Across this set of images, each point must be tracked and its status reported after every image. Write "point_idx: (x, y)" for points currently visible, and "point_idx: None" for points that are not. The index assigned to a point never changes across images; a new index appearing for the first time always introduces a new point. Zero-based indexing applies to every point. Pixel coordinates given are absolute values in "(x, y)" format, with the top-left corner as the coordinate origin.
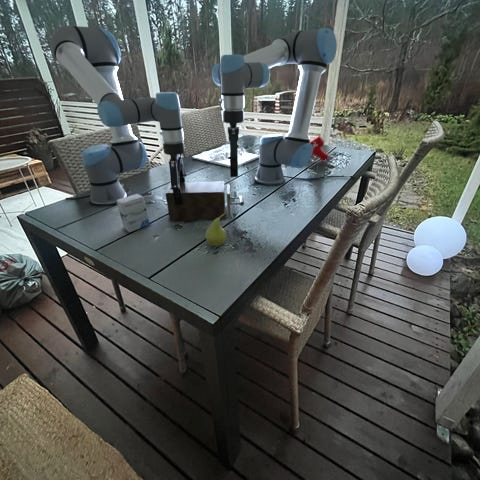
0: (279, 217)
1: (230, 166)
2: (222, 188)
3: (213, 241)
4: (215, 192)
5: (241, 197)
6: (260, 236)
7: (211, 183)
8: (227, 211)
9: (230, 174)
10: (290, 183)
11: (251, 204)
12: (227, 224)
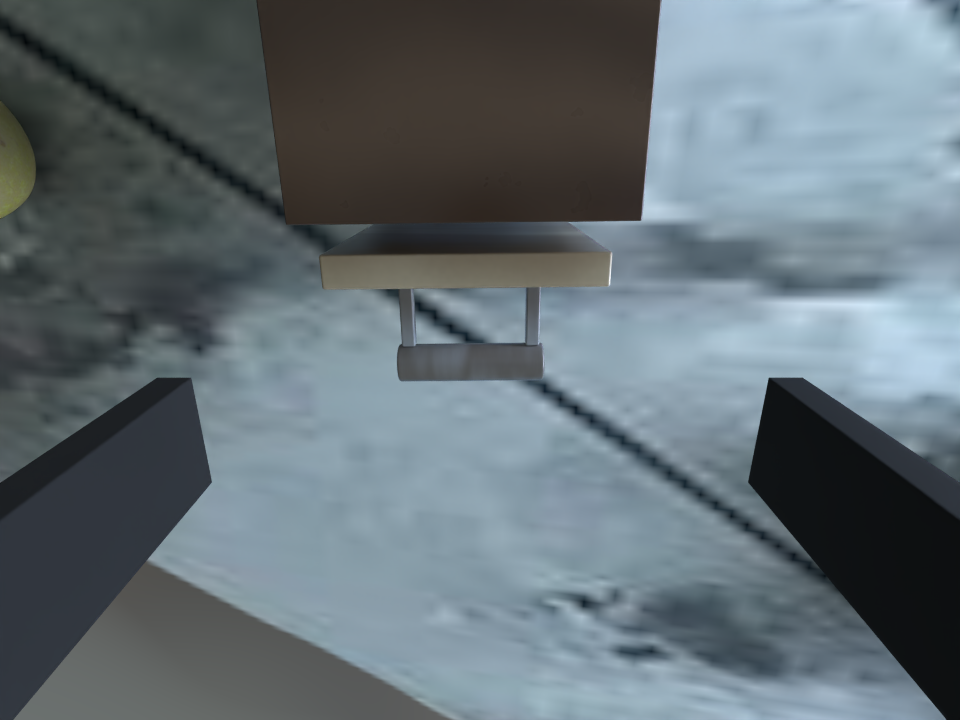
0: (406, 548)
1: (21, 477)
2: (394, 206)
3: None
4: (272, 116)
5: (494, 369)
6: None
7: (581, 35)
8: (364, 230)
9: (129, 397)
10: None
11: (612, 402)
12: None
